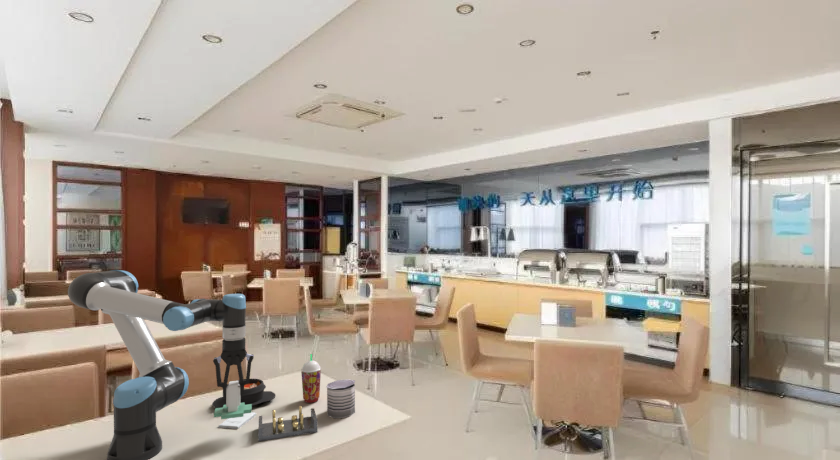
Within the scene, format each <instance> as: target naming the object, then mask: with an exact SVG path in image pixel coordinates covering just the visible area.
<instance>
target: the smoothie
mask: <svg viewBox="0 0 840 460" xmlns="http://www.w3.org/2000/svg"><path fill="white" fill-rule="evenodd" d="M309 354H310V355H309V356H310V357H309V358H310V359H309V360H308V361H307V360H306V361H305V363H304V364H303V366H302V367H301V370H300V372H301V381H302V382H301V383H302V384H301V386H302V399H303V400H304V402H305V403H306V404H312V403H316V402H317V401H319V398H320V392H321V391H320V390H321V378H322V377H321V373H322V367H321V366H320V364H319V362H318V361H316V360H313V354H311V353H309Z"/></svg>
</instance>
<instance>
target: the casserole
mask: <svg viewBox="0 0 840 460" xmlns="http://www.w3.org/2000/svg"><path fill="white" fill-rule="evenodd" d="M244 380H246V378H244ZM236 381H239V379H238V380H236ZM239 385H240V381H239ZM227 386H229V383H227ZM266 387H267V386H266V384H265V383H264V381H263V380H262V379H260V378H259V379H258V378H250V380H249V383H248V384H245V385H244V394H243V395H241V397H240V403H243V402H245V405H248V404H252V407H255V406H257V405H260V404H262V403H263V404H264V403H268V402H270V401H273V400H274V399H276V393H275V392H274V391H271V390H268V391H267V390H265V389H266ZM211 405H212V407H214V408H222V407H223V406H224V405H226V397H223V396H221V397H218V398H216V399H215V400H213V402H212V404H211Z"/></svg>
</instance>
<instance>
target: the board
mask: <svg viewBox="0 0 840 460" xmlns="http://www.w3.org/2000/svg"><path fill="white" fill-rule="evenodd" d="M228 384H229V386H228V407H226V405H224V406H223V407H222V408H215V407H214V408H215V409H214V412H213V418H219V417H220V419H221V420H227V419H228V418H236V417H243V415H244V414H245V413H251V412H253V409H252V408H253V406H252V404H248V405H245V402H243V403H240V406H238V385H239V381H237V380H231V381H229V382H228Z"/></svg>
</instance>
